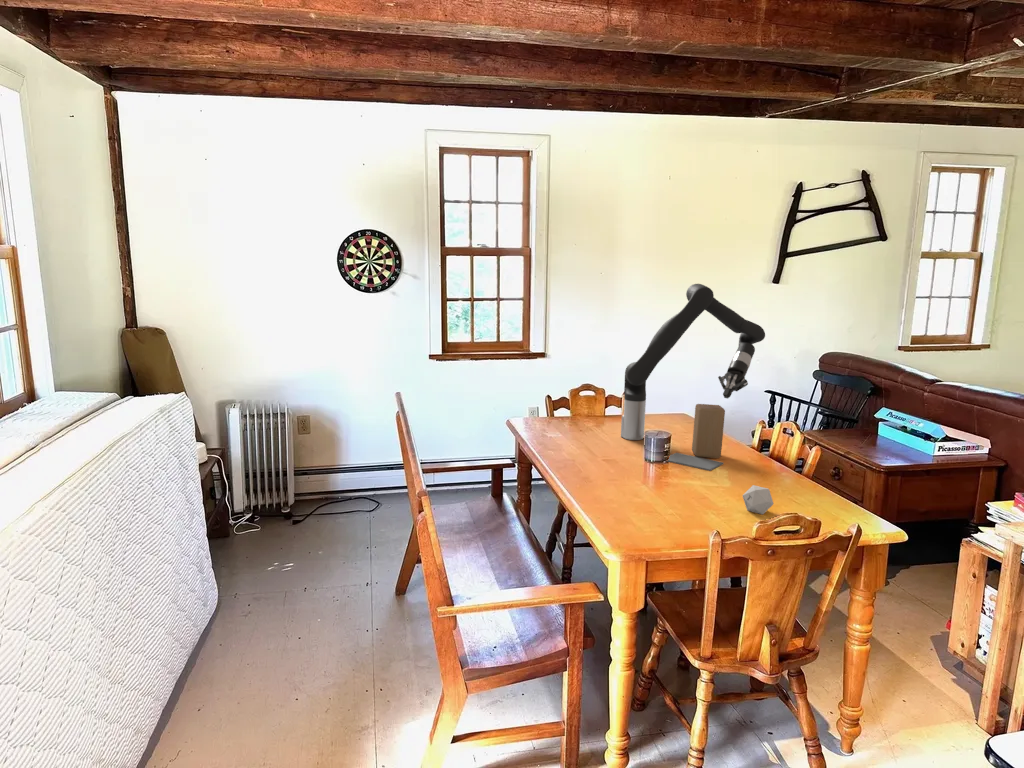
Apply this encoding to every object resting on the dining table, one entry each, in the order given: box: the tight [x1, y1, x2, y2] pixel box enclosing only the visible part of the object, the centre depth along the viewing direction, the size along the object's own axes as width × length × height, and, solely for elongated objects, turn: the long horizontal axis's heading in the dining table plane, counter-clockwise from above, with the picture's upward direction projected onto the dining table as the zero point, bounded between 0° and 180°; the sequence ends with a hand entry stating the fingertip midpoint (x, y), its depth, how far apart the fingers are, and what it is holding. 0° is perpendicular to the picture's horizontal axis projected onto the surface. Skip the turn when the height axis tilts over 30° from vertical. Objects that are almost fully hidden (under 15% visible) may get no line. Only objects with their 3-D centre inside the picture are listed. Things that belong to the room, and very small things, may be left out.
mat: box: [667, 452, 724, 472], centre depth 264 cm, size 20×12×1 cm, turn 49°
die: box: [741, 484, 774, 515], centre depth 212 cm, size 8×9×10 cm
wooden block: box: [691, 403, 726, 459], centre depth 272 cm, size 10×10×20 cm
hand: (725, 397), depth 281 cm, fingers closed
